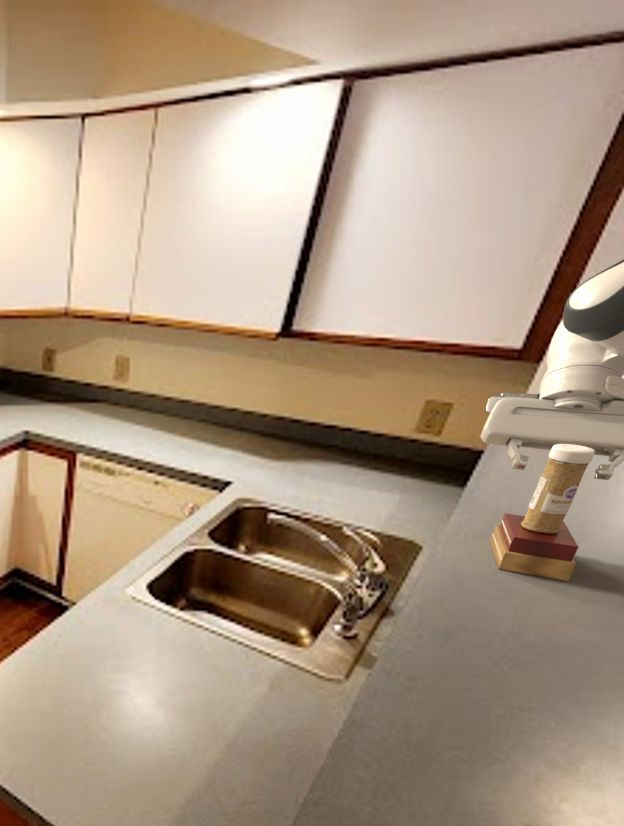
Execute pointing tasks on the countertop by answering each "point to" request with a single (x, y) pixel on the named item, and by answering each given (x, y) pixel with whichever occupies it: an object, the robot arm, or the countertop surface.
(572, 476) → the sprinkles bottle
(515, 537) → the red and wooden block
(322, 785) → the countertop surface
